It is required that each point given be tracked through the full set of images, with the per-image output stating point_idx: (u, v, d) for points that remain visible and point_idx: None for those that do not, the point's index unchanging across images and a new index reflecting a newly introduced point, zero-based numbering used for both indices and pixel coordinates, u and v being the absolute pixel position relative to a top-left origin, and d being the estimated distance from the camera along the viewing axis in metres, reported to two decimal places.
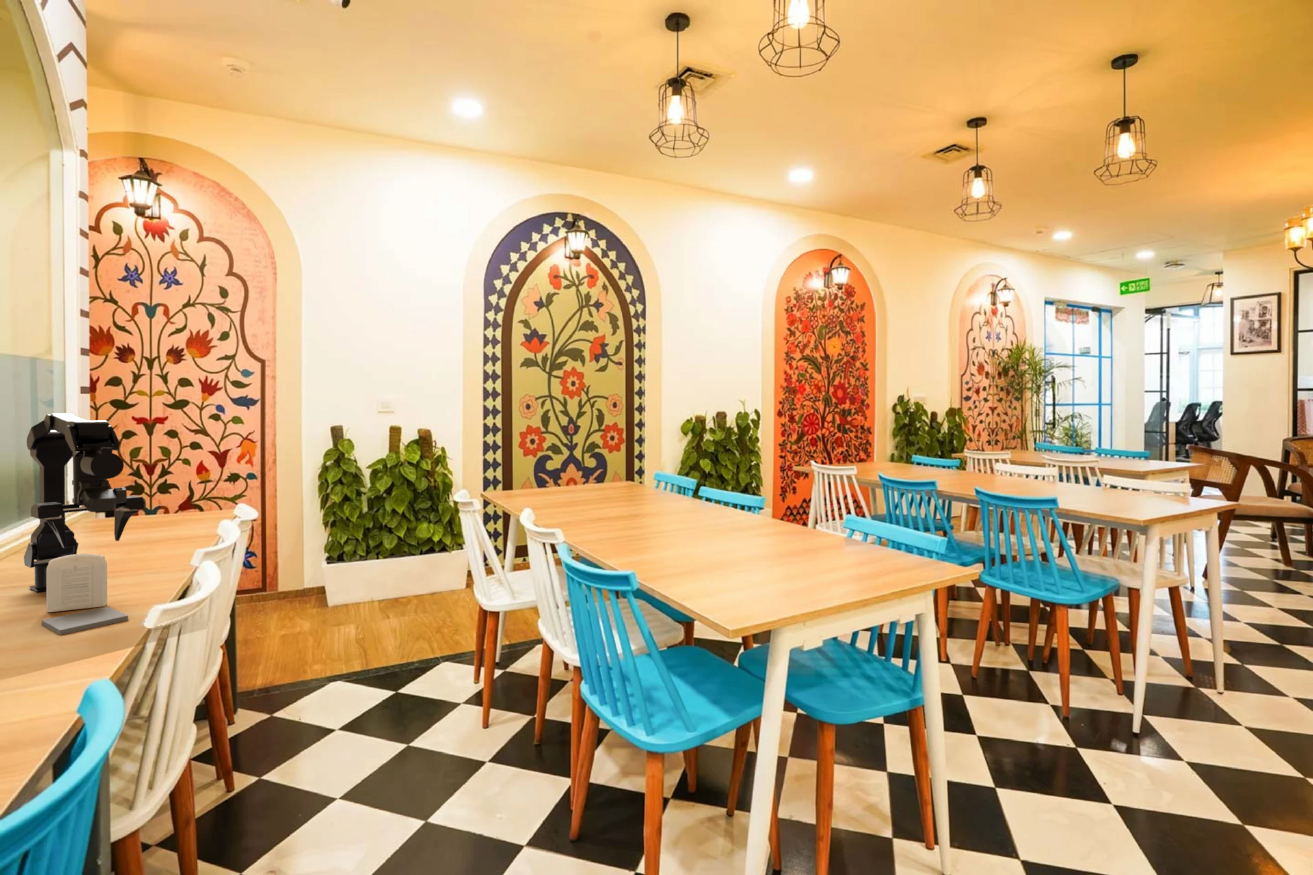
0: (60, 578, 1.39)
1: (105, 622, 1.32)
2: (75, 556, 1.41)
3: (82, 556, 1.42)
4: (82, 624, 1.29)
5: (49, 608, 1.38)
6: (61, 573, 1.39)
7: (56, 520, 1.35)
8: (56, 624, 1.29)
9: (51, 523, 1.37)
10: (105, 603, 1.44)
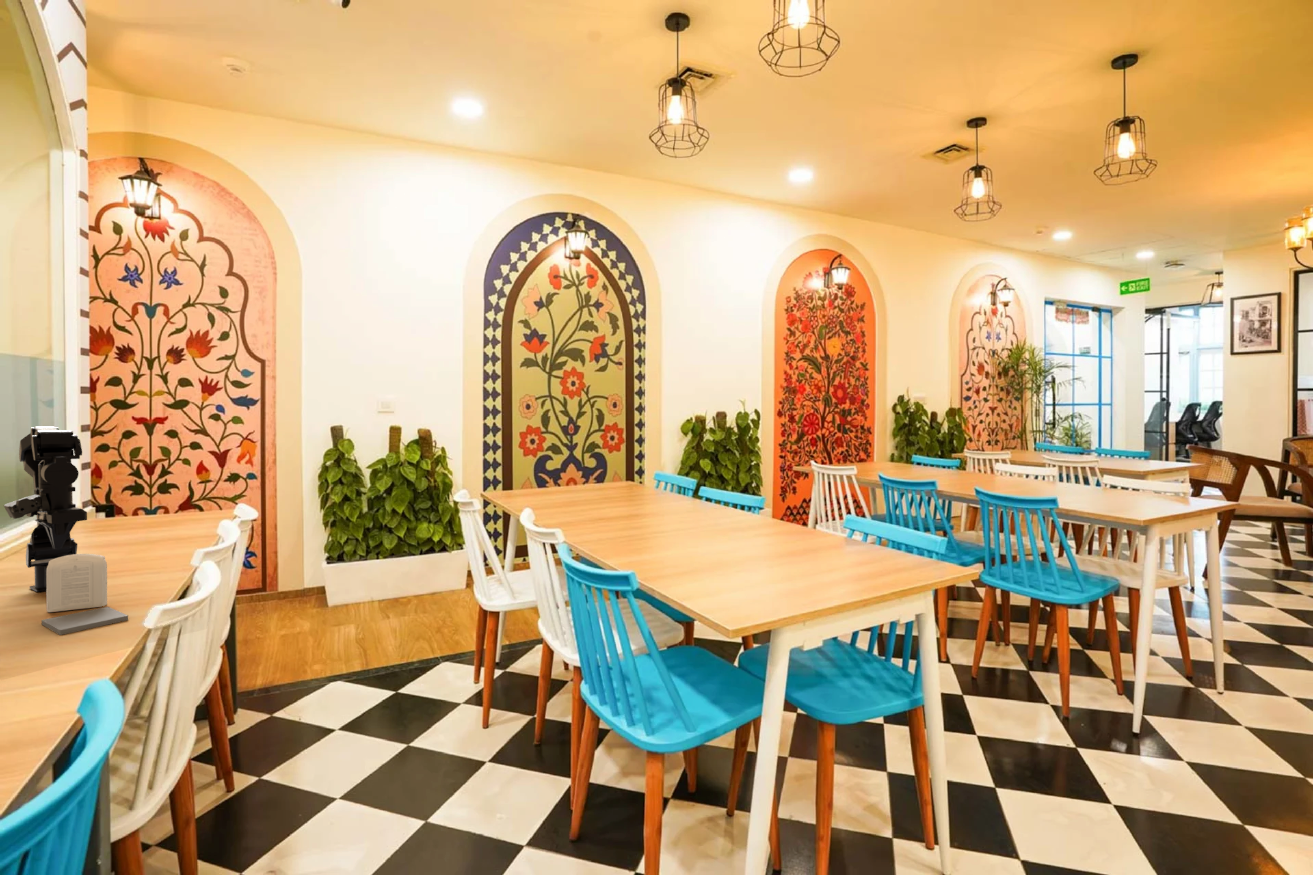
0: (60, 578, 1.39)
1: (105, 622, 1.32)
2: (75, 556, 1.41)
3: (82, 556, 1.42)
4: (82, 624, 1.29)
5: (49, 608, 1.38)
6: (61, 573, 1.39)
7: (37, 521, 1.47)
8: (56, 624, 1.29)
9: None
10: (105, 603, 1.44)
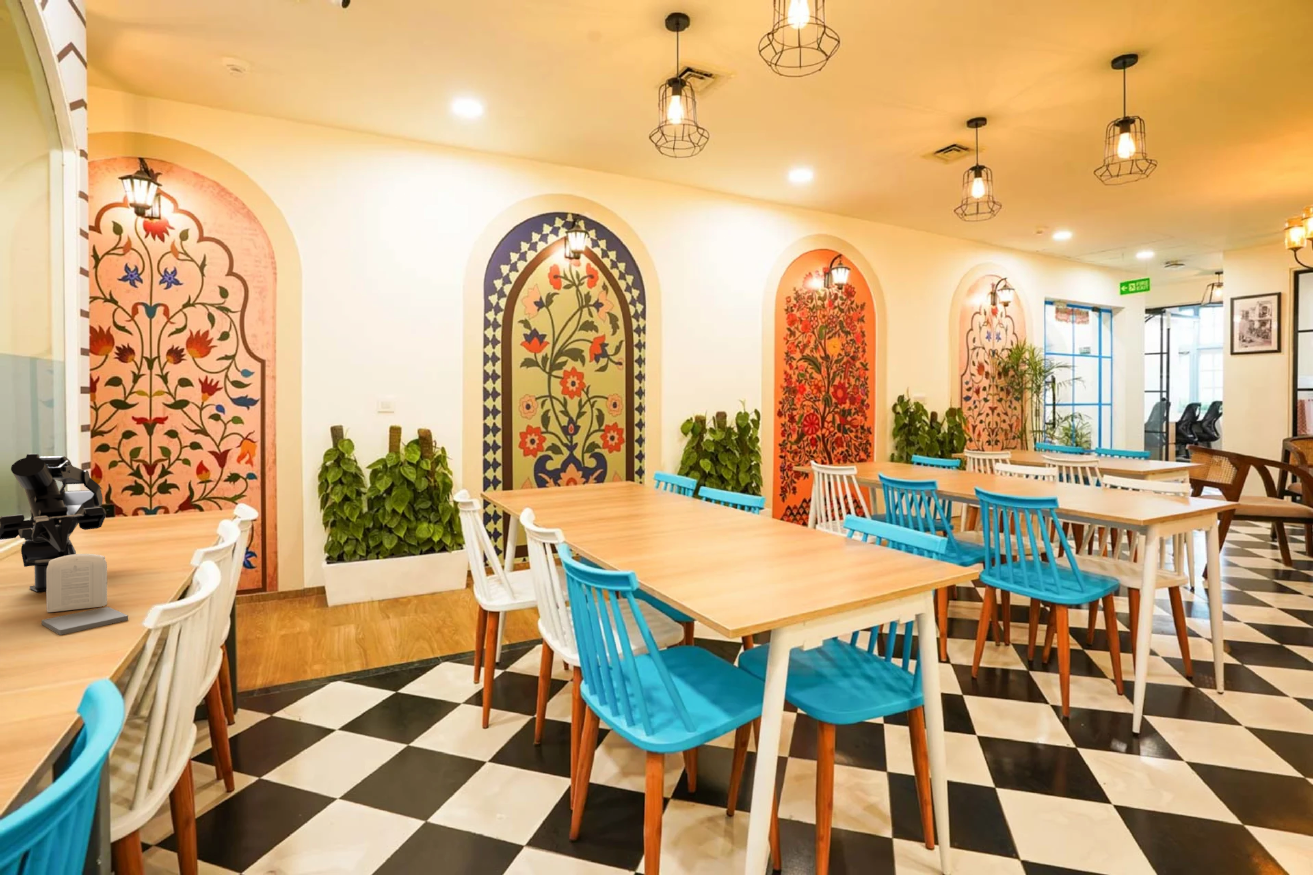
0: (60, 578, 1.39)
1: (105, 622, 1.32)
2: (75, 556, 1.41)
3: (82, 556, 1.41)
4: (82, 624, 1.29)
5: (49, 608, 1.38)
6: (60, 573, 1.39)
7: None
8: (56, 624, 1.29)
9: None
10: (105, 603, 1.44)
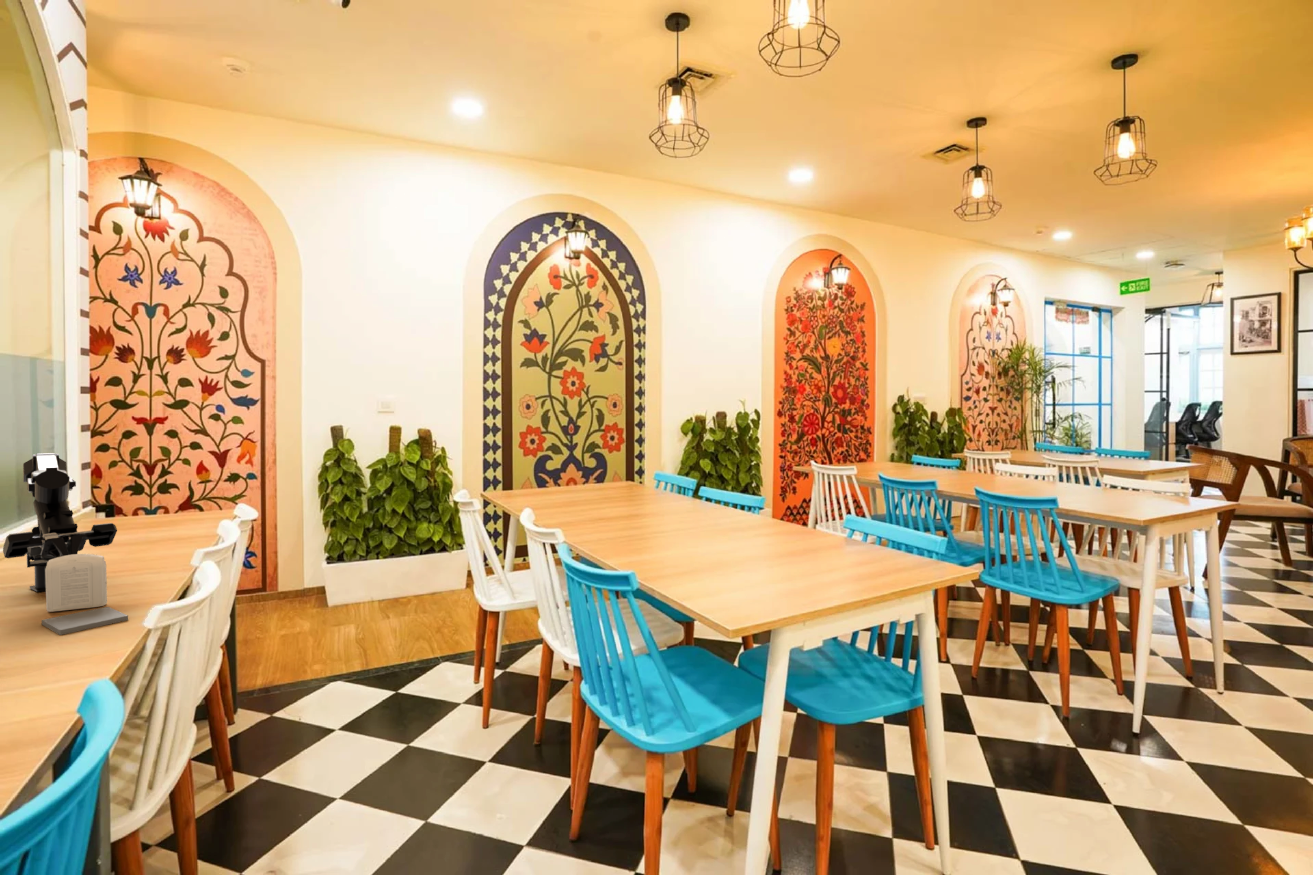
0: (59, 579, 1.38)
1: (105, 622, 1.32)
2: (74, 557, 1.40)
3: (81, 557, 1.40)
4: (82, 624, 1.29)
5: (49, 608, 1.38)
6: (60, 574, 1.38)
7: None
8: (56, 624, 1.29)
9: None
10: (105, 602, 1.44)
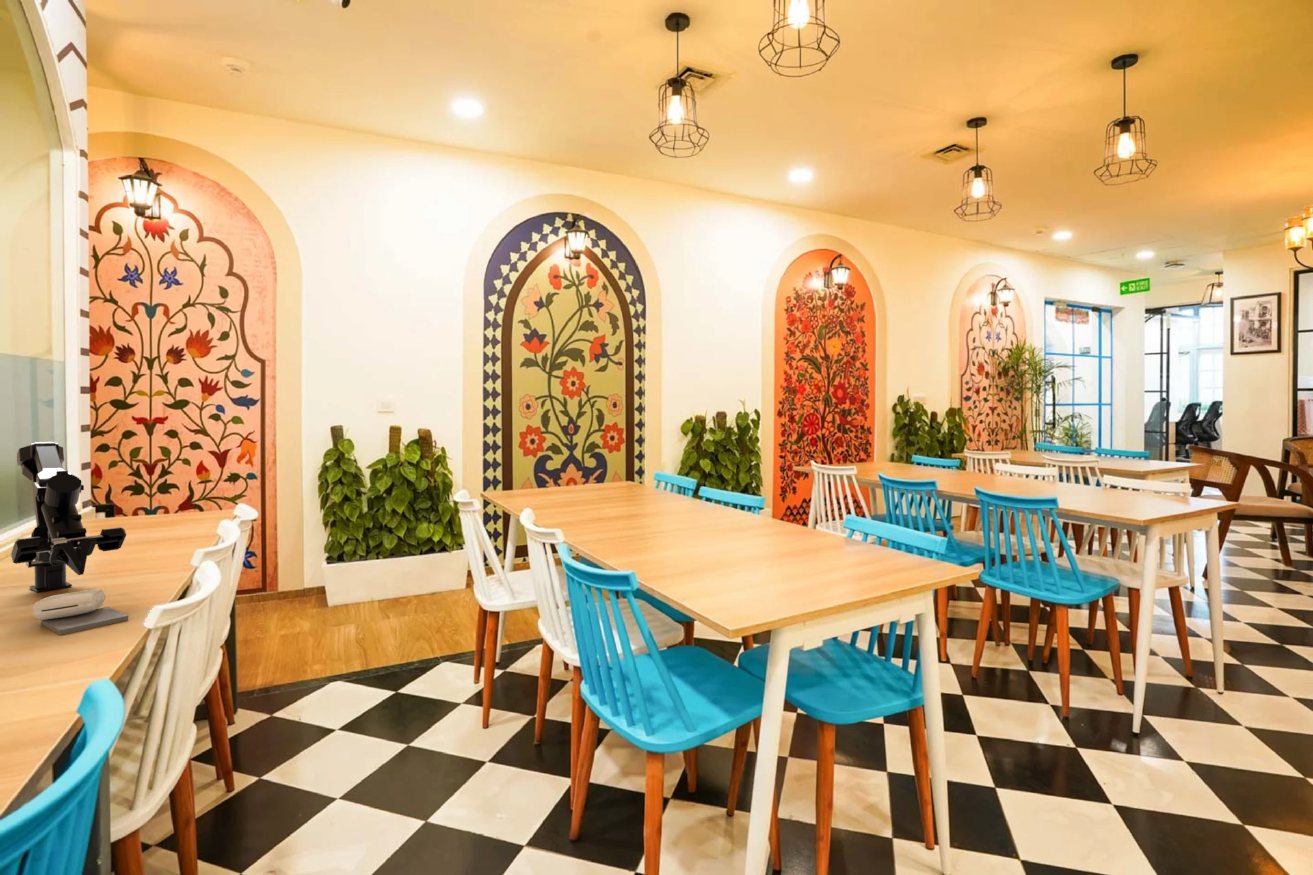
0: None
1: (105, 622, 1.32)
2: (62, 612, 1.30)
3: (69, 612, 1.31)
4: (82, 624, 1.29)
5: None
6: None
7: None
8: (56, 624, 1.29)
9: None
10: (104, 599, 1.43)
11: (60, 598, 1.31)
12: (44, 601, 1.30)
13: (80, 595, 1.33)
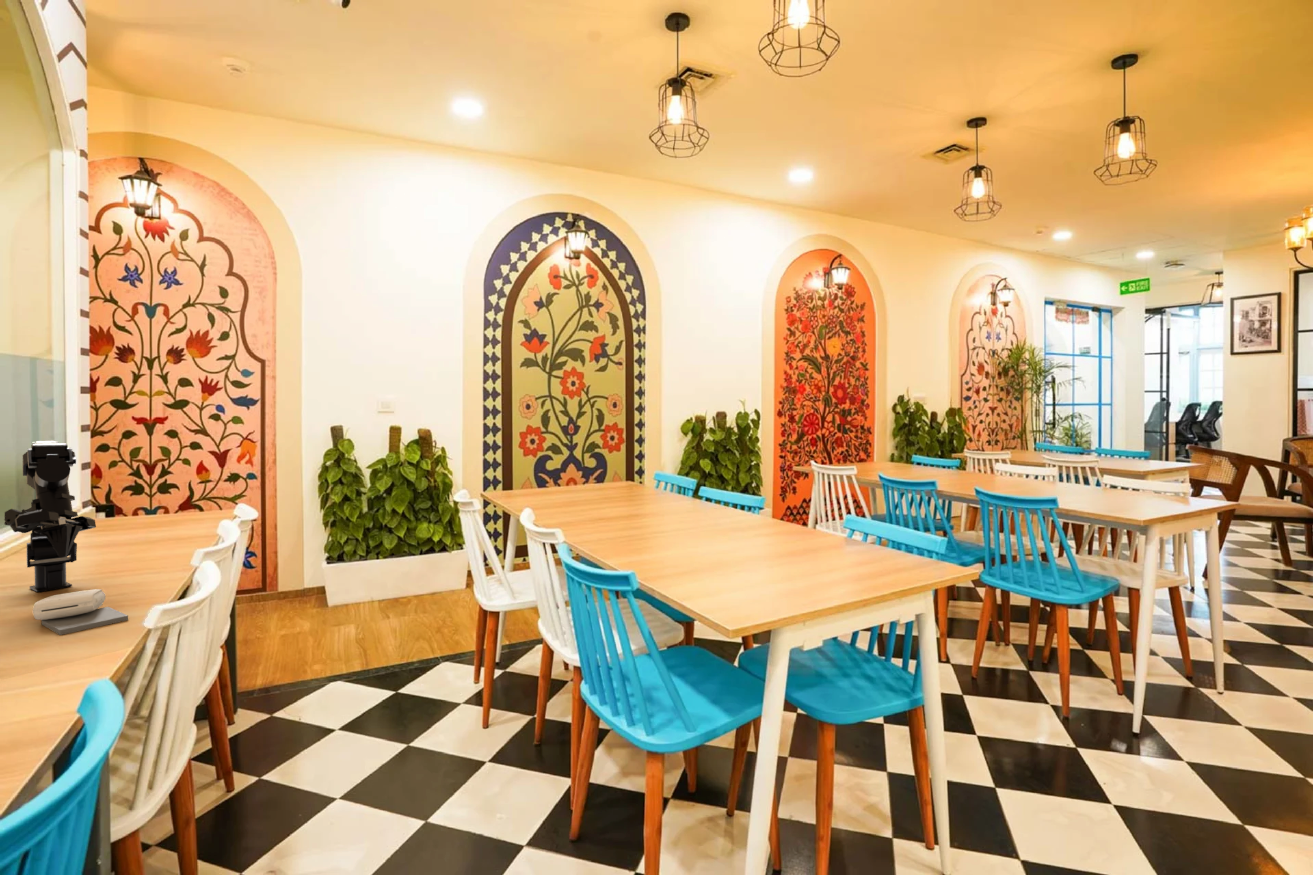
0: None
1: (105, 622, 1.32)
2: (62, 612, 1.30)
3: (69, 612, 1.31)
4: (82, 624, 1.29)
5: None
6: None
7: None
8: (56, 624, 1.29)
9: None
10: (104, 599, 1.43)
11: (60, 598, 1.31)
12: (44, 601, 1.30)
13: (80, 595, 1.33)
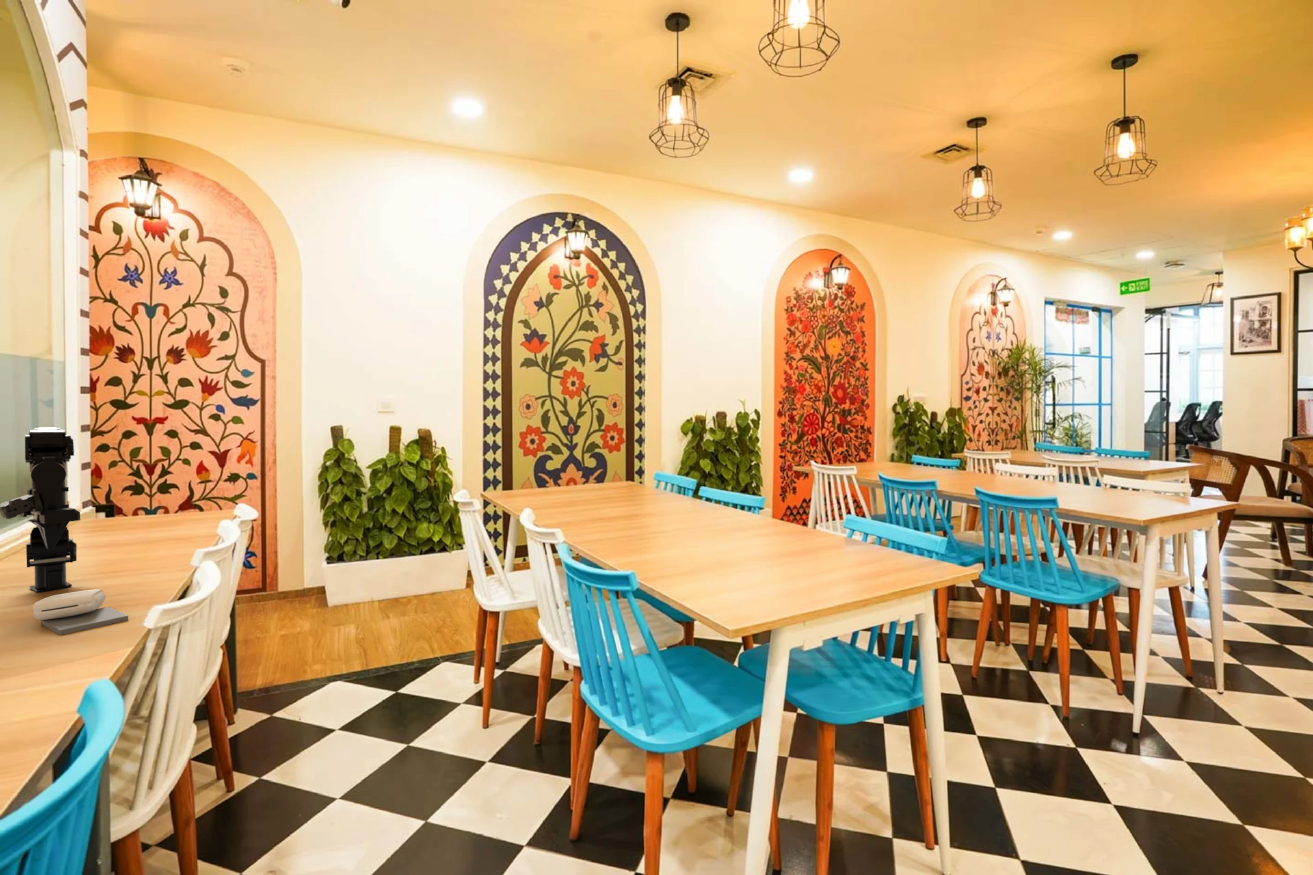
0: None
1: (105, 622, 1.32)
2: (62, 612, 1.30)
3: (69, 612, 1.31)
4: (82, 624, 1.29)
5: None
6: None
7: (30, 521, 1.47)
8: (56, 624, 1.29)
9: None
10: (104, 599, 1.43)
11: (60, 598, 1.31)
12: (44, 601, 1.30)
13: (80, 595, 1.33)
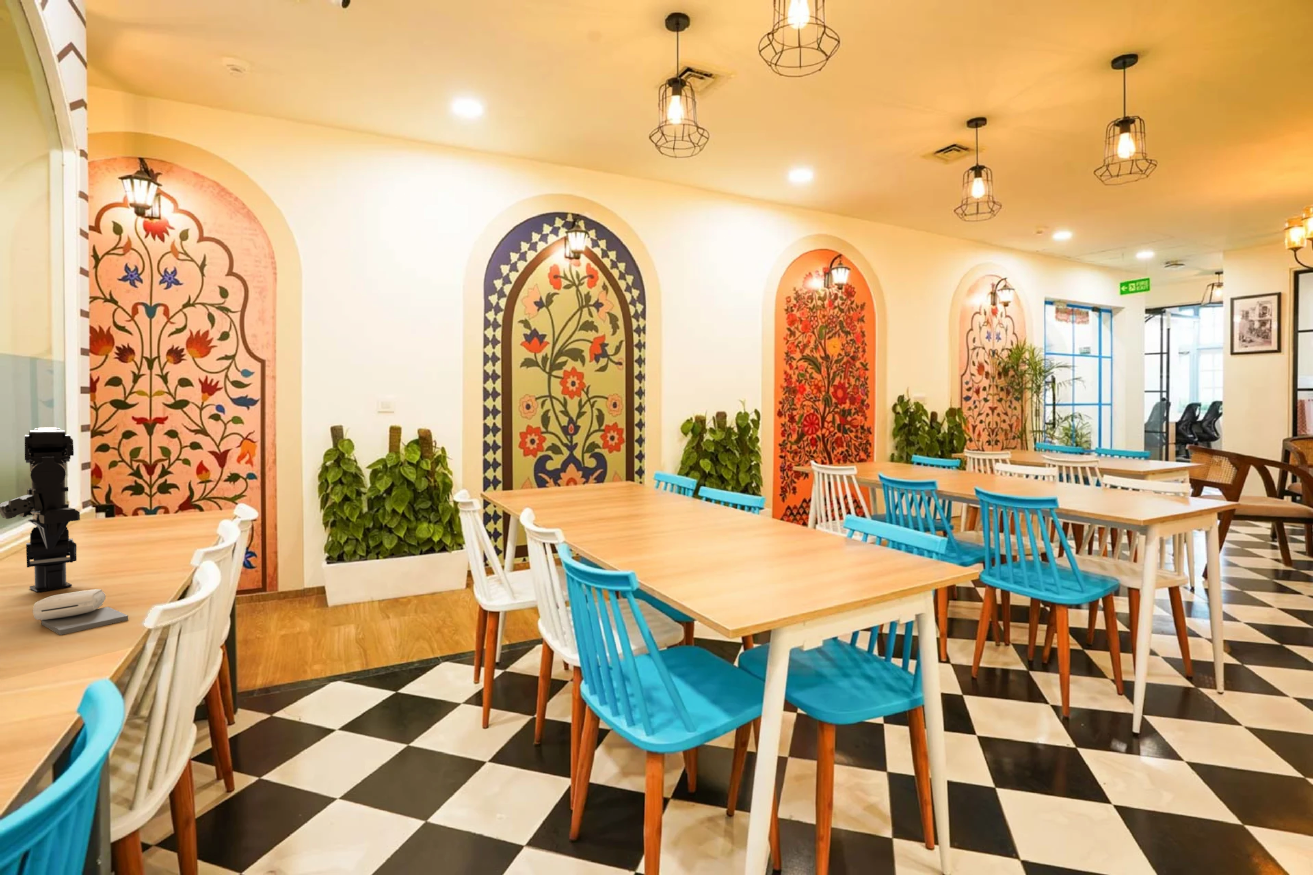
0: None
1: (105, 622, 1.32)
2: (62, 612, 1.30)
3: (69, 612, 1.31)
4: (82, 624, 1.29)
5: None
6: None
7: (30, 521, 1.47)
8: (56, 624, 1.29)
9: None
10: (104, 599, 1.43)
11: (60, 598, 1.31)
12: (44, 601, 1.30)
13: (80, 595, 1.33)
